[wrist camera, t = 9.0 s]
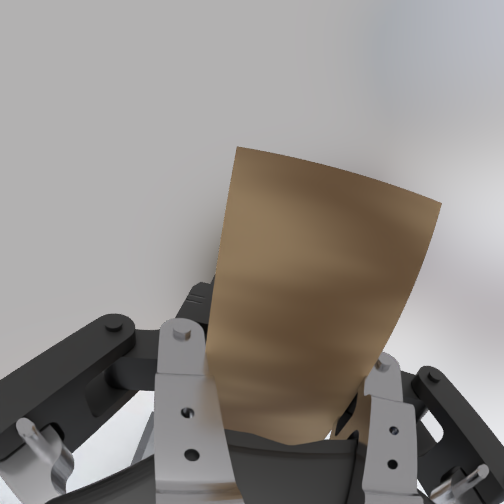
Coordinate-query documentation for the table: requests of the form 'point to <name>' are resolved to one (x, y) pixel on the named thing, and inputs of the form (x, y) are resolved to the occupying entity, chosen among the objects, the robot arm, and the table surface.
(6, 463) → the robot arm
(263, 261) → the oak pin
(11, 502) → the table surface
